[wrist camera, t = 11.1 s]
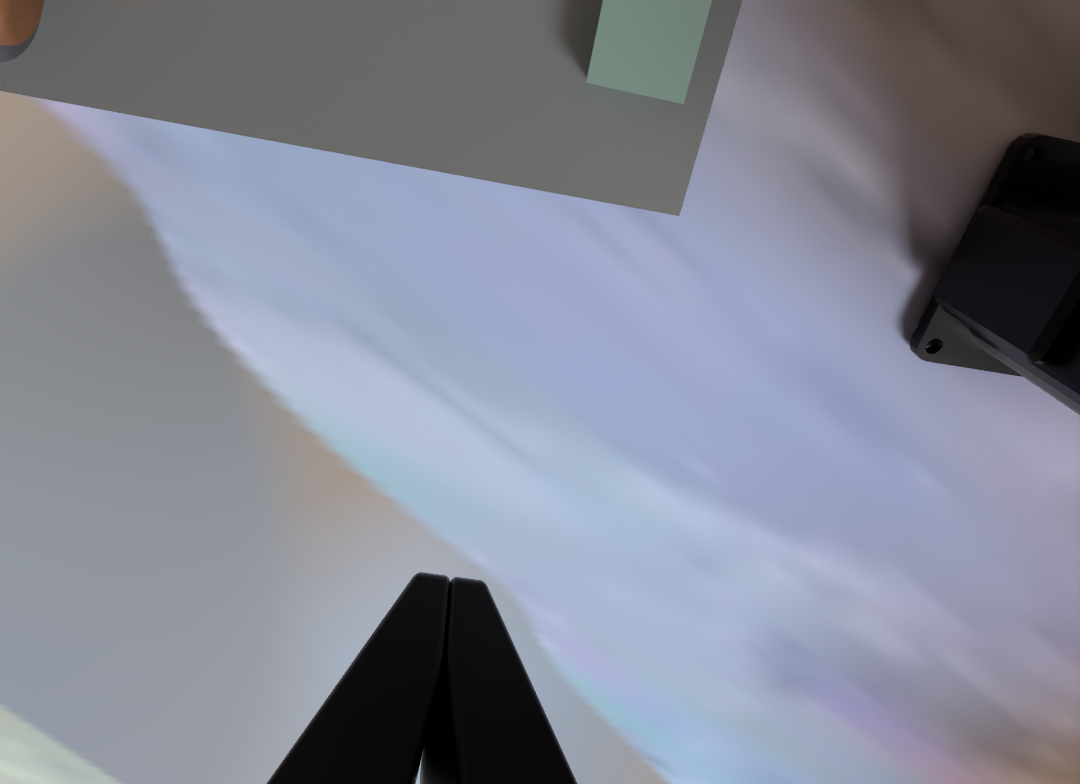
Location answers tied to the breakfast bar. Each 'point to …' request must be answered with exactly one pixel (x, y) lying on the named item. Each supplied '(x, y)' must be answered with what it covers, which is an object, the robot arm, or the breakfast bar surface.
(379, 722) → the robot arm
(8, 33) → the plunger
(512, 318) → the breakfast bar surface
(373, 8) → the console
